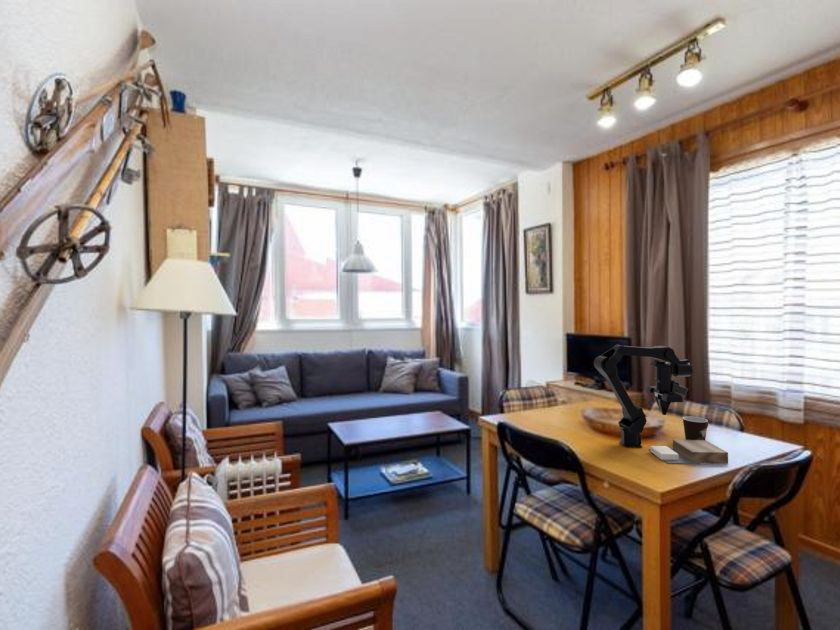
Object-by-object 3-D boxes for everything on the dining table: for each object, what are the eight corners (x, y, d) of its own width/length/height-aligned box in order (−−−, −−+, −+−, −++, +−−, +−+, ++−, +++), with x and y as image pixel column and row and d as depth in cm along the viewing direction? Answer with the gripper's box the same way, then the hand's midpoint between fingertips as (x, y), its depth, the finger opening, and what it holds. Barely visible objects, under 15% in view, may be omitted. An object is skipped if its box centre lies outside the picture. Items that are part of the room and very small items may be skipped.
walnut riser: (692, 463, 151) (692, 452, 151) (672, 449, 165) (672, 439, 165) (728, 463, 150) (728, 452, 150) (705, 450, 164) (705, 440, 164)
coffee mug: (690, 447, 168) (690, 422, 168) (678, 440, 176) (678, 416, 176) (720, 447, 167) (720, 422, 167) (706, 440, 176) (706, 416, 176)
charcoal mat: (667, 463, 151) (667, 462, 151) (649, 449, 166) (649, 448, 166) (700, 464, 150) (700, 463, 150) (678, 449, 165) (678, 448, 165)
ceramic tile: (678, 454, 154) (678, 459, 154) (666, 446, 163) (666, 451, 163) (661, 454, 154) (661, 459, 154) (650, 445, 163) (650, 451, 163)
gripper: (697, 381, 161) (697, 421, 162) (673, 373, 180) (673, 409, 180) (667, 381, 163) (667, 421, 163) (645, 373, 181) (646, 409, 181)
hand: (664, 414), depth 172 cm, fingers closed
